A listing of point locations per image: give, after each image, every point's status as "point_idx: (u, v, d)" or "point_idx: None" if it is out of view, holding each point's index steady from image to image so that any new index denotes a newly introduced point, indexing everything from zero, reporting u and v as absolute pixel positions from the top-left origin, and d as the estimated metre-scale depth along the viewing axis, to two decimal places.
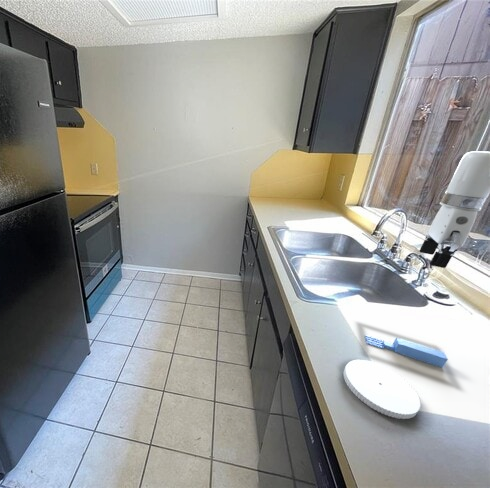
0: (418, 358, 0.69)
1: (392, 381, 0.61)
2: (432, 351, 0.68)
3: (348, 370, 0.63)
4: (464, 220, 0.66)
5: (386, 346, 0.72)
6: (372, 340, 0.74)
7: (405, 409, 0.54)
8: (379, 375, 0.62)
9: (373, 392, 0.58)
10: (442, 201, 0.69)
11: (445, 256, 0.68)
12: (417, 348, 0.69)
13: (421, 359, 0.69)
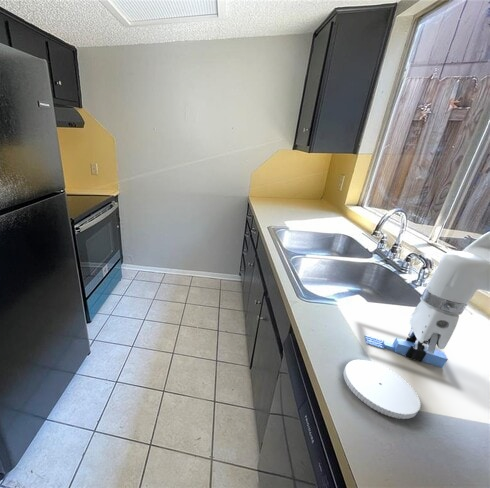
0: None
1: (392, 381, 0.61)
2: None
3: (348, 370, 0.63)
4: (445, 323, 0.61)
5: (386, 346, 0.72)
6: (372, 340, 0.74)
7: (405, 409, 0.54)
8: (379, 375, 0.62)
9: (373, 392, 0.58)
10: (422, 298, 0.65)
11: (420, 352, 0.67)
12: None
13: None
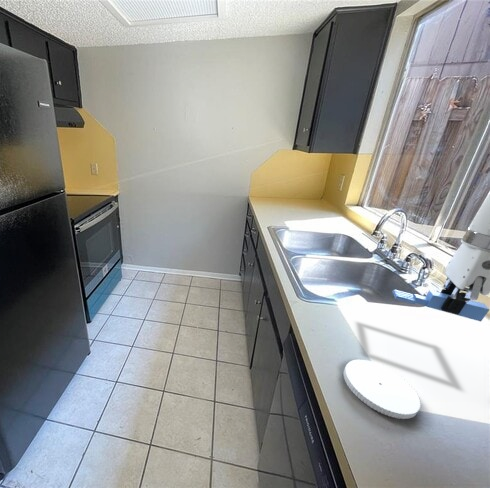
0: None
1: (392, 381, 0.61)
2: (471, 302, 0.62)
3: (348, 370, 0.63)
4: None
5: (418, 298, 0.66)
6: (402, 294, 0.68)
7: (405, 409, 0.54)
8: (379, 375, 0.62)
9: (373, 392, 0.58)
10: (464, 239, 0.58)
11: (459, 302, 0.61)
12: None
13: None
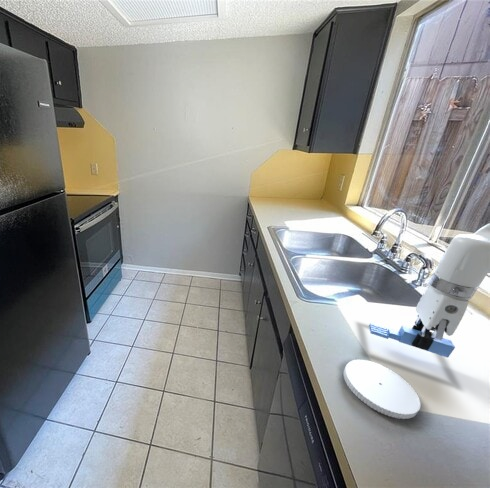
0: None
1: (392, 381, 0.61)
2: None
3: (348, 370, 0.63)
4: (454, 308, 0.60)
5: (391, 334, 0.70)
6: (377, 328, 0.73)
7: (405, 409, 0.54)
8: (379, 375, 0.62)
9: (373, 392, 0.58)
10: (430, 283, 0.63)
11: (427, 340, 0.65)
12: None
13: None
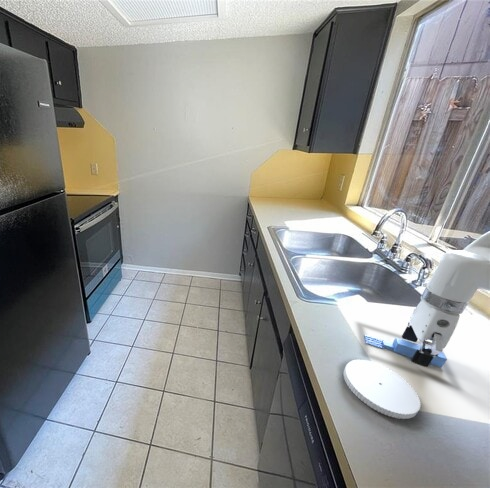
0: None
1: (392, 381, 0.61)
2: None
3: (348, 370, 0.63)
4: (446, 322, 0.61)
5: (385, 345, 0.72)
6: (371, 340, 0.75)
7: (405, 409, 0.54)
8: (379, 375, 0.62)
9: (373, 392, 0.58)
10: (423, 297, 0.65)
11: (426, 356, 0.64)
12: (416, 348, 0.69)
13: None
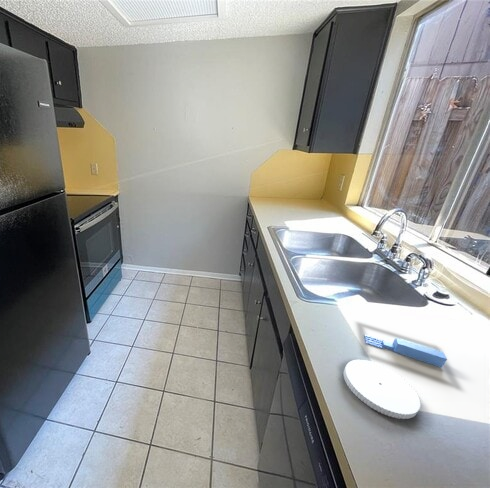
0: (417, 358, 0.69)
1: (392, 381, 0.61)
2: (431, 351, 0.68)
3: (348, 370, 0.63)
4: None
5: (385, 345, 0.72)
6: (371, 340, 0.75)
7: (405, 409, 0.54)
8: (379, 375, 0.62)
9: (373, 392, 0.58)
10: None
11: None
12: (416, 348, 0.69)
13: (420, 359, 0.69)
